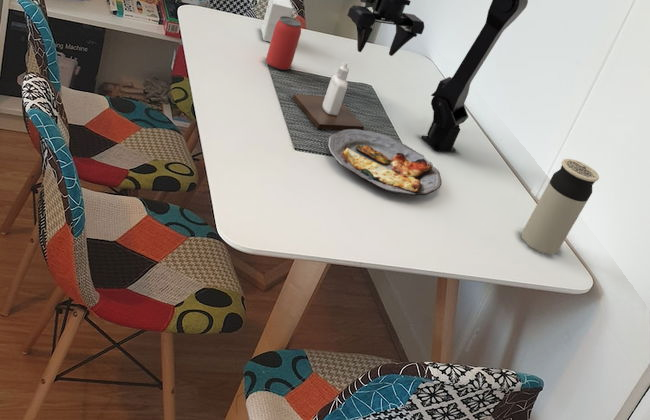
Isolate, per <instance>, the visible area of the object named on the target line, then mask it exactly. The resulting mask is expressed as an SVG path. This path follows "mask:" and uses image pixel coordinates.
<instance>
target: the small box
mask: <svg viewBox="0 0 650 420" xmlns="http://www.w3.org/2000/svg"><path fill="white" fill-rule="evenodd" d="M293 10H294V9H293V6H292V2H291V0H268V3H267V6H266V10H265V13H264V18H263V21H262V26H261V29H260V31H261V35H262V40H263V41H265V42H269V43H271V40H272V36H273V32H274V29H275V25H276V23H277V22H278V20H279V19H280V17H281V16H287V17H291V16H292V12H293ZM291 18H292V17H291Z"/></svg>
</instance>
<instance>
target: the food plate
mask: <svg viewBox="0 0 650 420" xmlns="http://www.w3.org/2000/svg"><path fill="white" fill-rule="evenodd" d="M327 144H328V148H329V151H330V153H331V154H332V157H334V159H335V160H336V161H337V162H338V163H339V164H340V165H341V166H344V167H345V168H347V169H348V170H350V171H352V172H353V173H354V174H356V175H357V176H359V177H361V178H363V179H365V180H367V182H369V183H372V184H373V185H376V186H377V187H379V188H381V189H383V190H386V191H388V192H391V193H393V194H400V195H407V196H414V197H417V196H427V195H430V194H432V193H434V192H436V191H437V190H440V188H441V186H443V185H442V184H443V183H442V177H441V173H440V171H439V169H437V167H436V166H434V164H433V163H432V162H431V161H429V160H428V159H427V158H426V157H425V156H424V155H423V154H422V153H420V152H418V151H417V150H416V149H415V150H414V149H413V148H412V147H409V146H408V145H406V144H404V143H402V142H400V141H399V140H396V139H394V138H393V137H391V136H389V135H386V134H382V133H380V132H374V131H369V130H364V129H363V130H358V129H356V130H355V129H352V130H351V129H348V130H344V129H343V130H338V132H335V133H334V134H332V135H330V136H329V137H328V143H327Z"/></svg>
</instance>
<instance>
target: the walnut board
mask: <svg viewBox="0 0 650 420" xmlns="http://www.w3.org/2000/svg"><path fill="white" fill-rule="evenodd" d="M324 98H325V95H311V94H302V93H301V94H299V93H293V96H292V99H293V101H294V102H295V103H296V104H297V105H298V107H299V108H300V109H301V110H302V111H303V113H304V114H305V115H306V116H307V118H309V119H310V121H311V122H312V123H313V125H314V126H315V127H316V128H317V129H318V130H335V131H336V130H337V131H343V129H344V130H348V129H351V130H352V129H355V130H356V129H358V130H363V131H364V128H365V126H364V124H362V122H360V120H359V119H358V118H357V117H356V115H354V114H353V113H352V111H351V110H349V108H348V107H347V106H346V105H345V104H344V103H343V102H342V104H341V107H340V110H339V113H338V115H337V116H335V115H330V114H328V113H327V112H325V110H324V109H323V106H322V105H323V101H324Z"/></svg>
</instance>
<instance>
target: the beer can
mask: <svg viewBox="0 0 650 420" xmlns="http://www.w3.org/2000/svg"><path fill="white" fill-rule="evenodd" d="M301 34H302V22H301V21H300V20H299V19H296V18H294V17H287V16H281V17H280V19H279V20H278V22H277V23H276V25H275V29H274V32H273V36H272V40H271V42H269V43H270V44H269V46H268V50H267V55H266V58H265V62H266V64H267V65H268V66H269V67H271V68H273V69H276V70H279V71H280V70H281V71H287V70H289V69H291V67H292V64H293V61H294V57H295V54H296V51H297V49H298V44H299V41H300V38H301Z"/></svg>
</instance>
